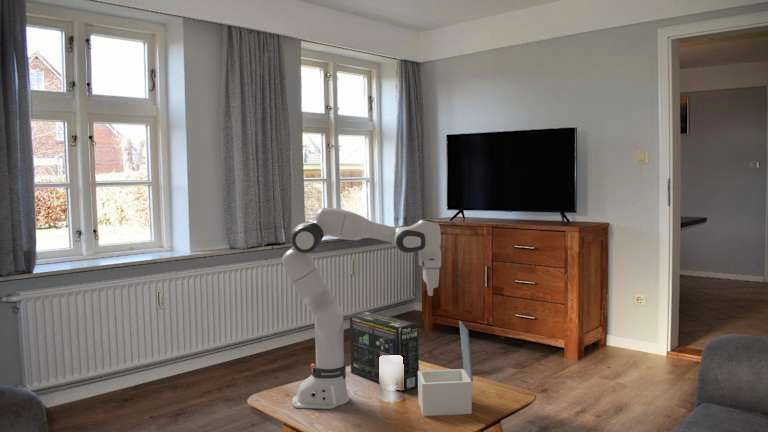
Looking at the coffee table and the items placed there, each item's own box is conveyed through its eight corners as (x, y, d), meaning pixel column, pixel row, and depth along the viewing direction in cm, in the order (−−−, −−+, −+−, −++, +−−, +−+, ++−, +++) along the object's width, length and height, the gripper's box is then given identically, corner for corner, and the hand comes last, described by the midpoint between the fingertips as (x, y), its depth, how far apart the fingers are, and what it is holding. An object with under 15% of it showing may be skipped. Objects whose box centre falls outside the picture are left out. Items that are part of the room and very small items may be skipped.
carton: (423, 416, 227) (422, 384, 226) (418, 401, 242) (417, 371, 241) (471, 413, 228) (471, 381, 227) (464, 398, 243) (463, 368, 242)
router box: (421, 386, 259) (419, 323, 257) (401, 393, 252) (399, 328, 250) (368, 367, 286) (366, 310, 284) (349, 372, 279) (347, 314, 278)
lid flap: (466, 331, 226) (489, 328, 226) (459, 321, 241) (480, 318, 242) (471, 382, 227) (494, 379, 228) (463, 368, 243) (485, 366, 243)
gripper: (418, 257, 254) (419, 290, 255) (424, 264, 234) (425, 300, 235) (434, 256, 255) (434, 290, 256) (441, 263, 234) (441, 300, 235)
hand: (430, 295), depth 245 cm, fingers closed
